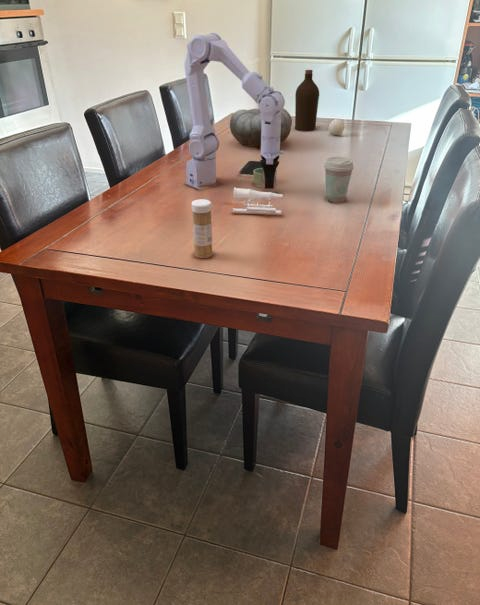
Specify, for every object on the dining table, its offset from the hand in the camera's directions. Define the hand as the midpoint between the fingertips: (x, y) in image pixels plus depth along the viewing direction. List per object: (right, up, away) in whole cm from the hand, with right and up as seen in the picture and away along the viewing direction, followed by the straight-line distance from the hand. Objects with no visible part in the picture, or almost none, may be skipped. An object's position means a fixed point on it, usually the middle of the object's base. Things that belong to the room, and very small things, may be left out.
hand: (269, 180), depth 158 cm
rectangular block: (0, -4, +2) cm, 4 cm away
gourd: (-1, +28, +54) cm, 60 cm away
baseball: (+33, +39, +66) cm, 83 cm away
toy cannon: (-4, -12, -11) cm, 17 cm away
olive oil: (+21, +42, +78) cm, 91 cm away
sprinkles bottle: (-18, -26, -35) cm, 47 cm away
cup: (-1, +1, +10) cm, 10 cm away
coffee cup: (+20, -6, -2) cm, 21 cm away
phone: (-4, +9, +23) cm, 25 cm away
